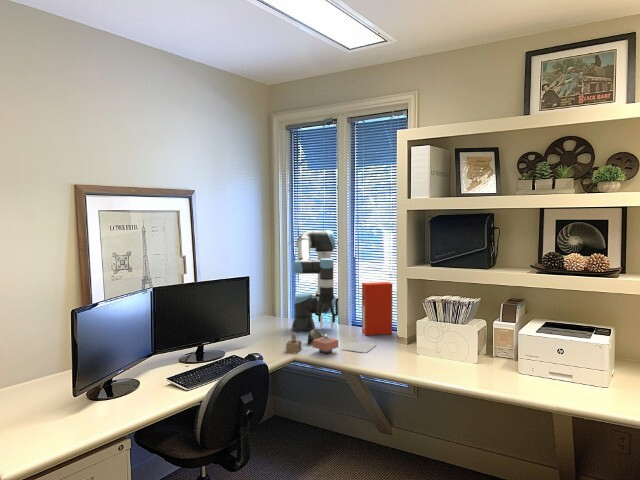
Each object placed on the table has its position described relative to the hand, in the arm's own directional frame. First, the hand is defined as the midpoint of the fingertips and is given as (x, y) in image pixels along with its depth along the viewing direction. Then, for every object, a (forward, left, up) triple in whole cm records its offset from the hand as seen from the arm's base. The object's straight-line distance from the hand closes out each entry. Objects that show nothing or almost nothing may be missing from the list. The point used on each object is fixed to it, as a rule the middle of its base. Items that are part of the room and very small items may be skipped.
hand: (326, 327), depth 266 cm
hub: (+4, 0, -13) cm, 13 cm away
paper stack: (-3, +21, -13) cm, 25 cm away
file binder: (-41, +25, -13) cm, 50 cm away
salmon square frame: (+4, 0, -10) cm, 10 cm away
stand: (+4, -18, -13) cm, 22 cm away
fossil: (-13, -9, -13) cm, 21 cm away
